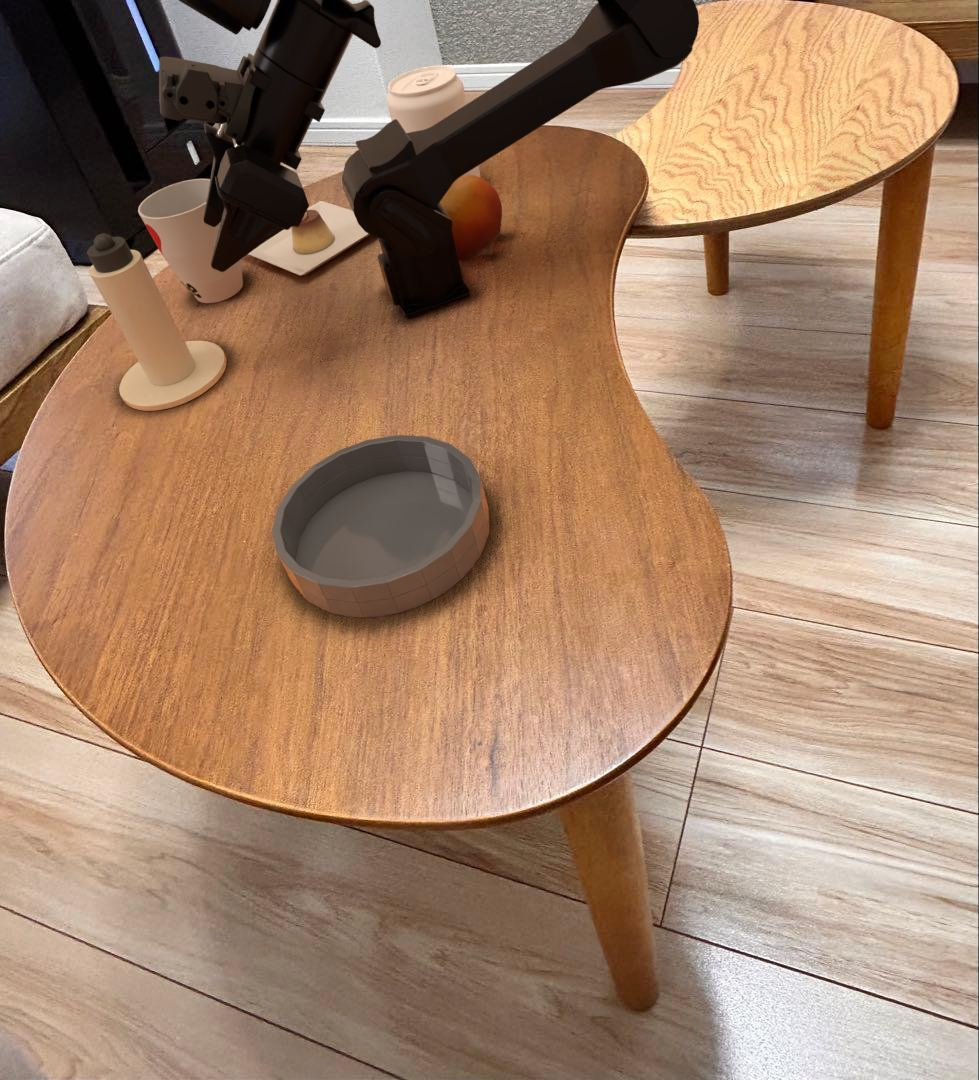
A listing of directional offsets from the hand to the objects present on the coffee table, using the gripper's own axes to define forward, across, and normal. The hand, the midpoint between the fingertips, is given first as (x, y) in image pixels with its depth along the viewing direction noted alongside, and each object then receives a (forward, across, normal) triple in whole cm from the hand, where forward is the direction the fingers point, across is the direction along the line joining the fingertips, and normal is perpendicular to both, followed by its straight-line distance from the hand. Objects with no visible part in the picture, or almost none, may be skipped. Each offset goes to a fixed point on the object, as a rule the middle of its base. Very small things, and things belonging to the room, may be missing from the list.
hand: (212, 245), depth 73 cm
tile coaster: (+13, 0, +2) cm, 13 cm away
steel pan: (+3, +30, +12) cm, 33 cm away
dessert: (+2, -18, +14) cm, 22 cm away
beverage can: (-10, -20, +25) cm, 33 cm away
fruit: (-8, -6, +24) cm, 26 cm away
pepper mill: (+13, 0, +1) cm, 13 cm away
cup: (+9, -14, +6) cm, 18 cm away
